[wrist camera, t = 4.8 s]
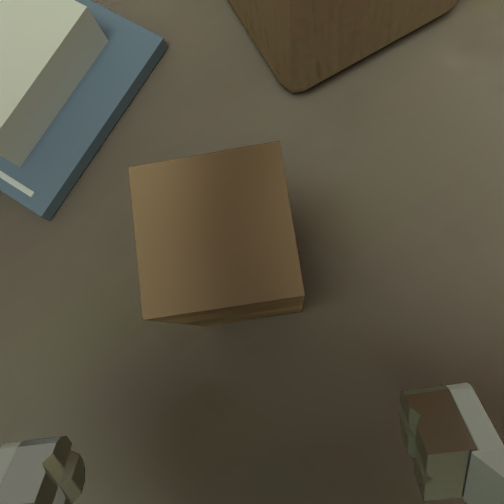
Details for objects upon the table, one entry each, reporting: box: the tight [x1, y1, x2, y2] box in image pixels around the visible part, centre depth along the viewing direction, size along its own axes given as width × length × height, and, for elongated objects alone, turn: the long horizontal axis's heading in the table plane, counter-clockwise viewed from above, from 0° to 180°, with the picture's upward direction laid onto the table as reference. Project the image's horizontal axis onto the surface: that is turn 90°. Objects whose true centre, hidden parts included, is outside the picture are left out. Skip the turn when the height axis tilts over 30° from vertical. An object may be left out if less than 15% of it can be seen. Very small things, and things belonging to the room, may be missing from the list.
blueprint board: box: [0, 0, 168, 221], centre depth 24 cm, size 13×11×1 cm
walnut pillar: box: [128, 141, 305, 326], centre depth 17 cm, size 4×4×9 cm
